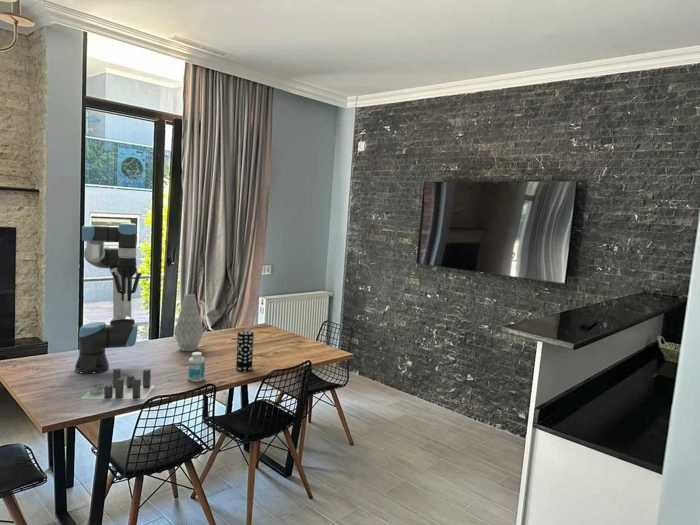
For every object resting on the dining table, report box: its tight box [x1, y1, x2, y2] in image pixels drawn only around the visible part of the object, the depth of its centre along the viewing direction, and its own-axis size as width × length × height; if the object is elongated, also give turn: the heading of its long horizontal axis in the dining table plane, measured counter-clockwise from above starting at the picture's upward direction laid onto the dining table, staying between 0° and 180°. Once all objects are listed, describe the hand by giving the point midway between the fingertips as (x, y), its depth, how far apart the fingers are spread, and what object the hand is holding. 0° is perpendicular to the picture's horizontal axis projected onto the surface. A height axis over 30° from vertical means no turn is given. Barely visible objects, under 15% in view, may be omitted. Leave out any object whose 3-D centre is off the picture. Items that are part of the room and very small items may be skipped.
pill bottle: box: [188, 351, 206, 383], centre depth 247 cm, size 8×7×14 cm
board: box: [80, 384, 155, 400], centre depth 223 cm, size 26×17×1 cm, turn 98°
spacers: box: [104, 368, 152, 400], centre depth 223 cm, size 16×16×8 cm
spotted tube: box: [235, 330, 254, 373], centre depth 266 cm, size 8×8×20 cm
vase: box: [173, 293, 204, 352], centre depth 297 cm, size 17×17×33 cm
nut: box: [88, 382, 105, 395], centre depth 221 cm, size 5×6×3 cm
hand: (126, 308), depth 231 cm, fingers closed
